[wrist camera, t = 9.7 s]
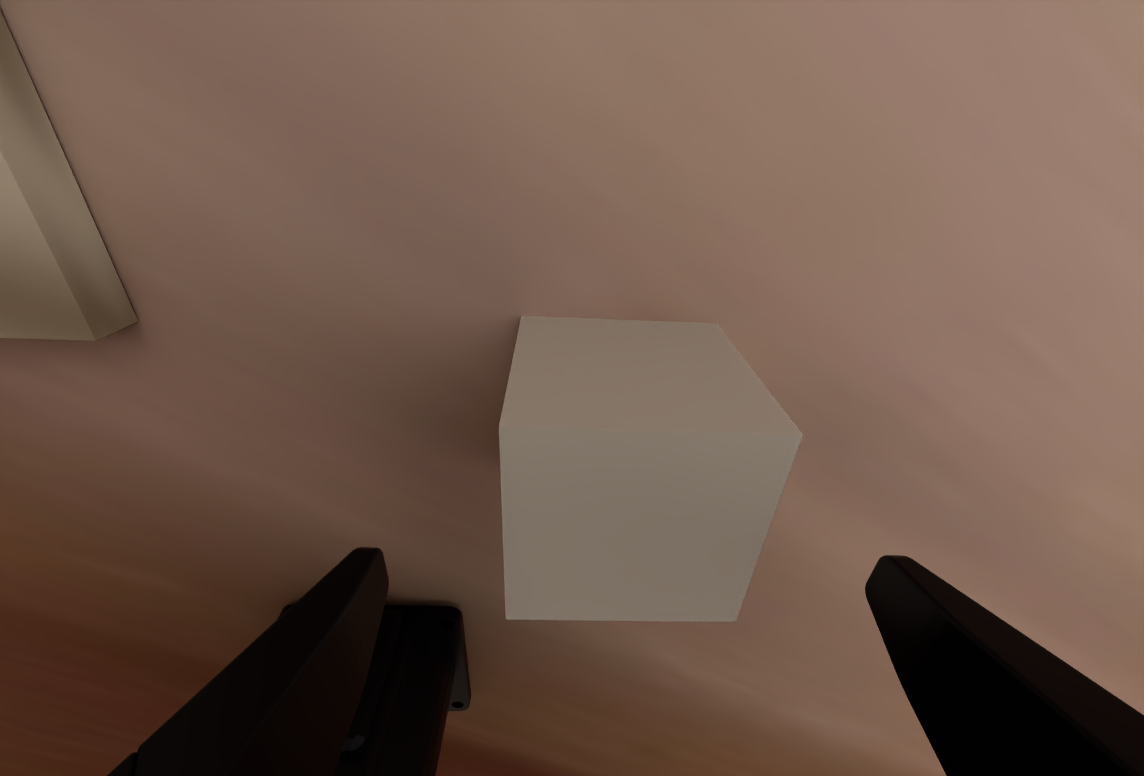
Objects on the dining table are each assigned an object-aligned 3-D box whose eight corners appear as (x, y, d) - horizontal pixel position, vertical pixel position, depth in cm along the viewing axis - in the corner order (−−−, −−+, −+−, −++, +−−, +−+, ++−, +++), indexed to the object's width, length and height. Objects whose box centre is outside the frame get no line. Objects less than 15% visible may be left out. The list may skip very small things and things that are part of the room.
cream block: (683, 472, 14) (735, 621, 10) (522, 468, 14) (505, 619, 10) (715, 322, 12) (803, 434, 8) (521, 314, 12) (499, 426, 7)
